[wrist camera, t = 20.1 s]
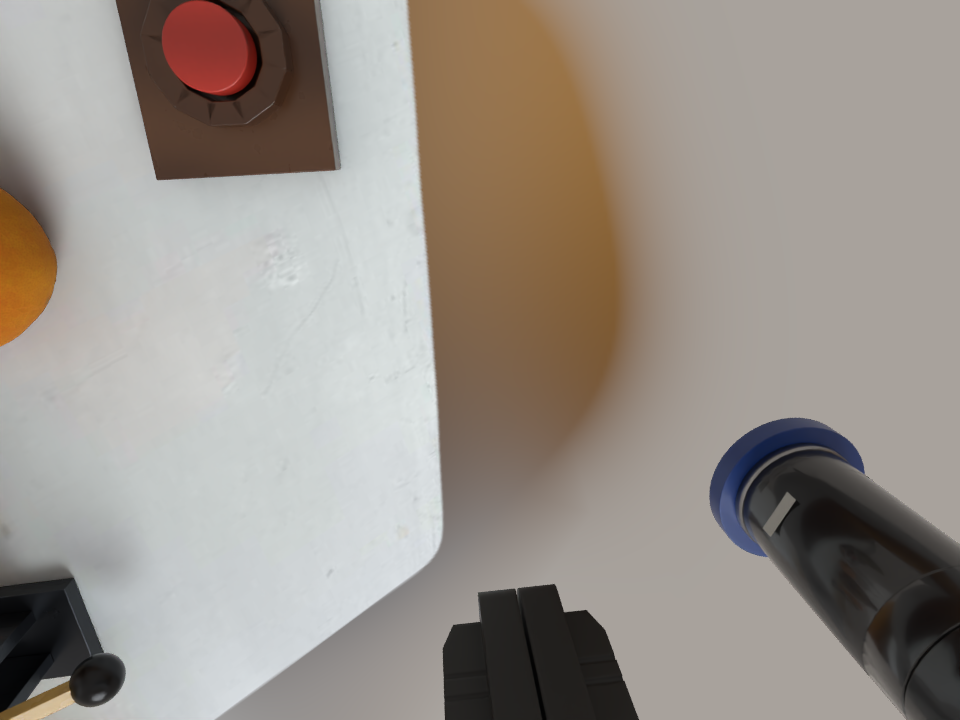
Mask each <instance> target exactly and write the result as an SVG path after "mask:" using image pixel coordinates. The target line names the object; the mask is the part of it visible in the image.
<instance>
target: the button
mask: <svg viewBox="0 0 960 720" xmlns="http://www.w3.org/2000/svg"><path fill="white" fill-rule="evenodd" d="M162 47H163V52H164V55H165V58H166V60H167V62H168V64H169V66H170V68H171V69H172V71H173V72H174V73H175V75H176V76H177V77H178V78H179V79H180V80H181V81H183V82H184V83H185V84H187V85H188V86H190V87H192V88H194V89H196V90H199V91H202V92H206V93H209V94H213V95H218V96H227V95H232V94H235V93H237V92H239V91H241V90H243V89H244V88H245V87H246V86H247V85H248V84H249V83H250V81H251V80H252V78H253V76H254V74H255V70H256V66H257V51H256V47H255V43H254V40H253V38H252V36H251V34H250V32H249V31H248V29H247V28H246V27H245V25H244V24H243V23H242V22H241V21H240V20H239V19H237V18H236V17H235V16H234V15H232V14H231V13H229V12H228V11H227V10H225V9H224V8H222V7H221V6H219V5H217V4H215V3H212V2H209V1H204V0H191V1H187V2H184V3H182V4H180V5H179V6H177V7H176V8H175V9H174V10H172V12H171V13H170V14H169V15H168V17H167V19H166V21H165V23H164V26H163V30H162Z"/></svg>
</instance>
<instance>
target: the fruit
mask: <svg viewBox="0 0 960 720" xmlns="http://www.w3.org/2000/svg"><path fill="white" fill-rule="evenodd" d="M56 274H57V261H56V256H55V253H54V250H53V248H52V247H51V244H50V242H49V239H48V238H47V236H46V234H45V233H44V231H43V229H42V227H41V226H40V224H39V223H38V222H37V220H36V219H35V218H34V217H33V215H32V214H31V213H30V212H29V211H28V210H27V209H26V208H25V207H24V206H23V205H22V204H20V203H19V202H18V201H17V200H16V199H15V198H14V197H13V196H11V195H10V194H9V193H7V192H6V191H5V190H3V189H1V188H0V346H2V345H4V344H6V343H8V342H10V341H12V340H14V339H15V338H16V337H18V336H19V335H20V334H22V333H23V332H24V331H25V330H26V329H27V328H28V327H29V326H30V325H31V324H32V323H33V322H34V321H35V320H36V319H37V318H38V316H39V315H40V314H41V313H42V312H43V310H44V309H45V307H46V305H47V303H48V302H49V300H50V298H51V295H52V293H53V288H54V284H55V281H56Z"/></svg>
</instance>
